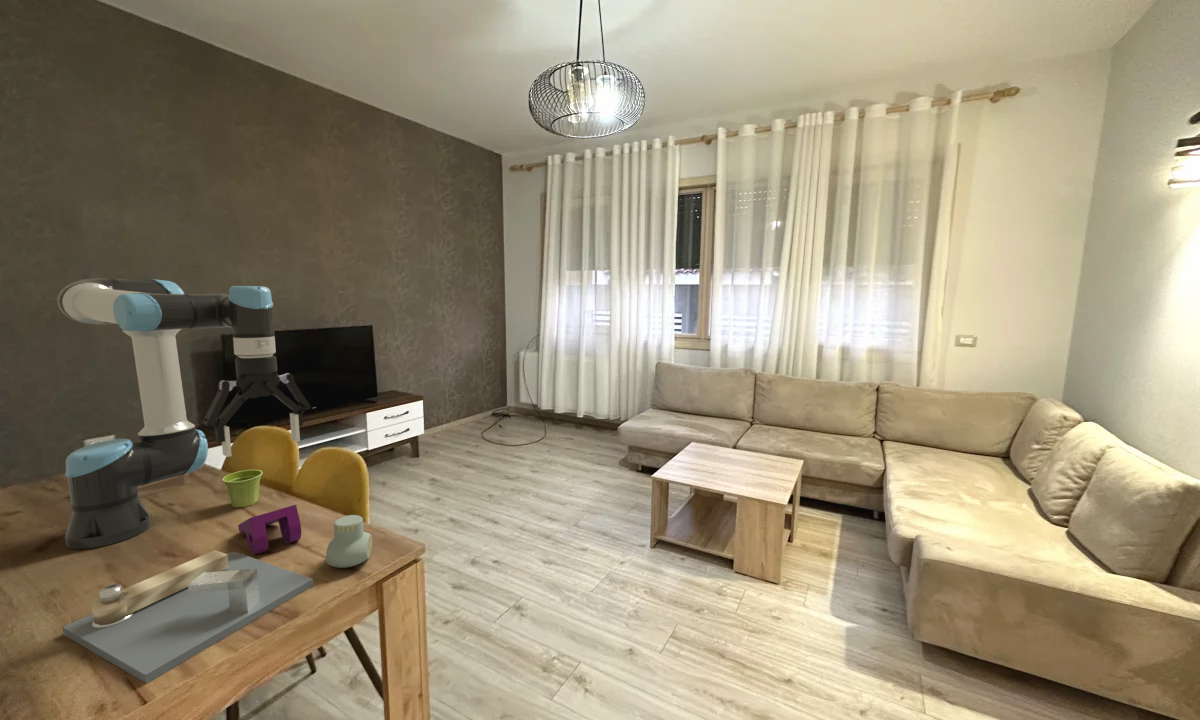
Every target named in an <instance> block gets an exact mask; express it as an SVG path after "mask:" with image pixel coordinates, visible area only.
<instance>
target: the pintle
mask: <svg viewBox="0 0 1200 720" xmlns="http://www.w3.org/2000/svg"><path fill="white" fill-rule="evenodd" d="M122 590H123V589H122V585H121V584H120V583H114V584H110V585H107V586H105V587H102V588H101V589H100V590H99V592H98V593H99V599H100V602H101V603H103V604H105V603H110V602H113V601H116V600H118V599H120V598H121V597H122ZM134 613H135V612H133V613H131V614H129V615H127V616H125V617H124V618H122V619H119V620H117V621H114V622H111V623H107V624H95V623H94V621H93V622H92V626H93V627H94V628H105V627H109V626H113V625H116V624H118V623H121V622H123V621H125V620H126V619H128V618H130V617H131V616H132V615H133V614H134Z"/></svg>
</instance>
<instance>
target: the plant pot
mask: <svg viewBox="0 0 1200 720" xmlns="http://www.w3.org/2000/svg"><path fill="white" fill-rule="evenodd" d="M262 475H263V471H262V470H260V469H246V470H239V471H236V472H232V473H229V474H227V475H225V476H224V477H222V479H221V480H222V482H223V484H224V485H225V486H226V489H227V492H228V496H229V499H230V503H231V507H233V508H247V507H251V506H253V505H255V504H256V503H257V502H258V501H259V492H260V482H261V479H262ZM250 505H251V506H250Z"/></svg>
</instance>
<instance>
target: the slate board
mask: <svg viewBox="0 0 1200 720" xmlns="http://www.w3.org/2000/svg"><path fill="white" fill-rule="evenodd" d="M226 554H227V555H228V565H229V568H227V569H224V570H222V571H232V570H246V569H257V576H258V587H259V598H260V600H259V601H258V602H257V603H256V604H255V605H254V606H253V608H252V609H251V610H250V611H249V612H248V613H239V614H230V604H229V594H228V590H217V591H204V592H191V593H189V590H188V587H186V588H184V589H182V590H180V591H178V592H175V593H173V594H171V595H169V596H167V597H165V598H163V599H161V600H158V601H156V602H154V603H152V604H150V605H148V606H146V607H144V608H141V609H139V610H137V611H135V613H134V614H133V615H132V616H131V617H130V618H128V619H126V620H125V621H123V622H121V623H118V624H116V625H113V626H109V627H105V628H94V627H93V626H92V622H93V621H94V617H93V613H91V614H90V615H87V616H85V617H82V618H80V619H78V620H76V621H74V622H71V623H69V624H66V625H65V626H62V632H63V636H65V637H66V638H68V637H69V638H68V639H70V640H71V641H73V642H75V643H77V644H79V645H80V646H82V647H83V648H85V649H86V650H89V651H91V652H92V653H94V654H95V655H98V656H99V657H101V658H102V659H104V660H106V661H107V662H109V663H111V664H113V665H114V666H116V667H118V669H119V668H120V669H122V671H124V672H126V673H128V674H130V675H131V676H133V677H134V678H136V679H138V680H140V681H141V682H143V683H145V684H149V682H151V681H154V680H155V679H157V678H159V677H161V676H162V675H163V674H166V673H167V672H168V671H170V670H172V669H174V668H176V667H177V666H179V665H181V664H182V663H184V662H186V661H188V660H189V659H190V658H193V657H194V656H196V655H198V654H199V653H201V652H202V651H204V650H206V649H208V648H210V647H211V646H213V645H214V644H216V643H218V642H220V641H222V640H223V639H225V638H227V637H228V636H230V635H232V634H233V633H235V632H236V631H238V630H240V629H242V628H243V627H245V626H247V625H249V624H251V623H252V622H253V621H255V620H258V619H259V618H260V617H262V616H265V615H266V614H267V613H269V612H270V611H273V610H274V609H276V608H277V607H279V606H281V605H282V604H284V603H286V602H287V601H289V600H291V599H293V598H295V597H297V596H298V595H299V594H301V593H303V592H305V591H306V590H308V589H310V588H311V587H314V580H313V578H312V577H309V576H306V575H303V574H300V573H297V572H294V571H292V570H288V569H285V568H283V567H279V566H277V565H274V564H272V563H269V562H266V561H262V560H260V559H257V558H254V557H251V556H249V555H246V554H243V553H239V552H237V551H234V550H233V551H231V552H228V553H226Z"/></svg>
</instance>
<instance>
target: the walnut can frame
mask: <svg viewBox="0 0 1200 720" xmlns="http://www.w3.org/2000/svg"><path fill="white" fill-rule="evenodd" d="M190 478H191V477H190V473H187V474H185V475H183V476H176V477H173V478H169V479H165V480H161V481H157V482H154V483H150V484H146V485H143V486H139V487H137V492H138V498H139V499H141V498H144V497H146V496H151V495H154V494H156V493H161V492H163V491H168V490H170V489H173V488H177V487H180V486H185V485H187V484H190V483H191V479H190Z"/></svg>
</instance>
